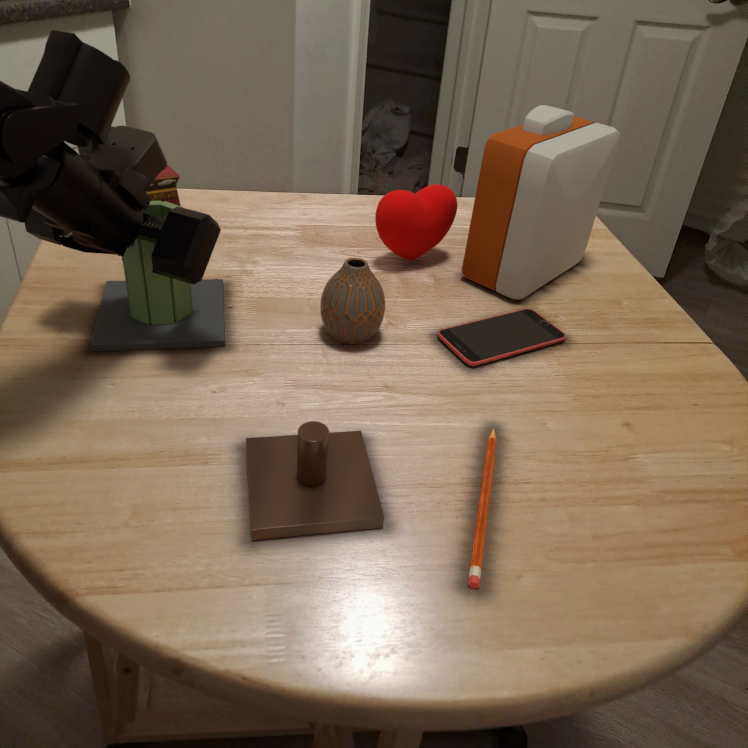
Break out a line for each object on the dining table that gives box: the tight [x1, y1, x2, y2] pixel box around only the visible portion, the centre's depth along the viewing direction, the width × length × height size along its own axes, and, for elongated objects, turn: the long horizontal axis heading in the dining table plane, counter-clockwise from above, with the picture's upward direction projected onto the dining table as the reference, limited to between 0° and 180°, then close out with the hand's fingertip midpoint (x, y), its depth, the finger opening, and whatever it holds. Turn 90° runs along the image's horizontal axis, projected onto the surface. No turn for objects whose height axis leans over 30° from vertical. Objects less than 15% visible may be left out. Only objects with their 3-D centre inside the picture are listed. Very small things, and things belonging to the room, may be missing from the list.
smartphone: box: [436, 308, 567, 367], centre depth 74 cm, size 7×1×14 cm
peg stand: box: [245, 420, 385, 541], centre depth 52 cm, size 10×10×6 cm
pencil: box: [467, 428, 497, 590], centre depth 54 cm, size 1×18×1 cm, turn 167°
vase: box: [319, 257, 386, 345], centre depth 70 cm, size 7×7×9 cm
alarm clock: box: [461, 104, 621, 300], centre depth 83 cm, size 18×9×21 cm, turn 139°
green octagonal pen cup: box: [121, 201, 193, 325], centre depth 68 cm, size 6×6×11 cm
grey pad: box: [90, 278, 226, 352], centre depth 72 cm, size 13×13×1 cm
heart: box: [374, 184, 458, 262], centre depth 85 cm, size 12×5×10 cm, turn 121°
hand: (165, 259), depth 69 cm, fingers closed on green octagonal pen cup, 6 cm apart
